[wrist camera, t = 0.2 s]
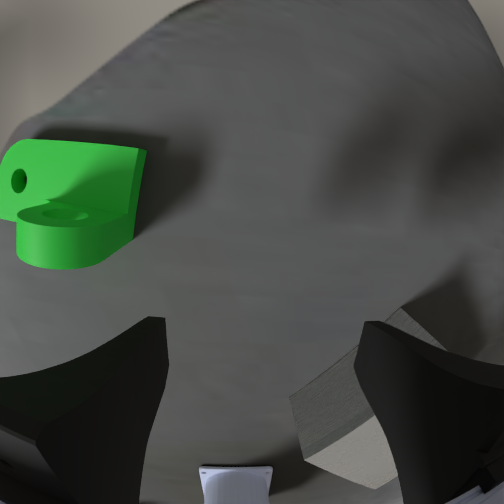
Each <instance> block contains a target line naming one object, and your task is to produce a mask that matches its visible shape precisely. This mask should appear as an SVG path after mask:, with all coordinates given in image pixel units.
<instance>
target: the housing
mask: <svg viewBox="0 0 504 504" xmlns="http://www.w3.org/2000/svg"><path fill="white" fill-rule="evenodd" d="M384 323H386V324H389V325H391V326H393V327H396V328H398V329H400V330H402V331H404V332H406V333H408V334H410V335H412V336H414V337H416V338H418V339H421V340H423V341H425V342H427V343H429V344H431V345H434V346H436V347H438V348H441V349H443V350H445V351H447V350H446V349H445V348H444V347H443V346H442V345H441V344H440V343H439V342H438V341H437V340H436V339H434V338H433V337H432V336H431V335H430V334H429V333H428V332H427V331H426V330H425V329H424V328H423V327H421V326H420V325H419V324H418V323H417V322H416V321H415V320H414V319H413V318H411V317H410V316H409V315H408V314H407V313H406V312H405V311H404V310H402V309H401V308H399V309H398V310H397V311H396V312H395V313H394V314H393V315H392V316H391V317H390V318H388V319H387V320H386V321H385V322H384ZM358 346H359V345H358ZM358 346H357V347H355V348H354V349H353V350H352V351H351V352H349V353H348V354H347V355H346V356H345V357H343V358H342V359H341V360H340V361H338V362H337V363H336V364H335V365H333V366H332V367H331V368H329V369H328V370H327V371H325V372H324V373H323V374H322V375H320V376H319V377H318V378H316V379H315V380H314V381H312V382H311V383H309V384H308V385H307V386H305V387H304V388H302V389H301V390H300V391H298V392H297V393H295V394H294V395H293V396H291V397H290V398H289V400H290V404H291V408H292V412H293V417H294V421H295V425H296V429H297V433H298V437H299V441H300V445H301V449H302V454H303V458H304V460H305V461H307V462H309V463H311V464H313V465H315V466H317V467H320V468H322V469H324V470H326V471H329V472H331V473H333V474H336V475H338V476H341V477H343V478H345V479H348V480H350V481H353V482H356V483H358V484H361V485H364V486H366V487H369V488H372V489H377V488H379V487H380V486H382V485H384V484H385V483H387V482H389V481H390V480H392V479H394V478H395V477H397V476H398V473H397V469H396V466H395V462H394V459H393V456H392V453H391V450H390V447H389V444H388V441H387V438H386V436H385V434H384V431H383V429H382V427H381V425H380V423H379V421H378V420H377V418H376V416H375V414H374V412H373V410H372V408H371V406H370V404H369V403H368V401H367V399H366V397H365V395H364V393H363V391H362V389H361V387H360V385H359V382H358V379H357V376H356V373H355V370H354V367H353V365H354V361H355V358H356V354H357V350H358Z"/></svg>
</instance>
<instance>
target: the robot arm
mask: <svg viewBox="0 0 504 504" xmlns="http://www.w3.org/2000/svg"><path fill="white" fill-rule="evenodd" d="M353 367H354V370H355V373H356V376H357V379H358V382H359V385H360V387H361V389H362V391H363V393H364V395H365V397H366V399H367V401H368V403H369V404H370V406H371V408H372V410H373V412H374V414H375V416H376V418H377V420H378V421H379V423H380V425H381V427H382V429H383V431H384V434H385V436H386V438H387V441H388V444H389V447H390V450H391V453H392V456H393V459H394V462H395V466H396V469H397V473H398V477H399V481H400V486H401V491H402V496H403V502H404V504H504V366H502V365H496V364H490V363H485V362H481V361H476V360H473V359H469V358H466V357H463V356H459V355H456V354H453V353H451V352H448V351H445V350H443V349H441V348H438V347H436V346H434V345H431V344H429V343H427V342H425V341H423V340H421V339H418V338H416V337H414V336H412V335H410V334H408V333H406V332H404V331H402V330H400V329H398V328H396V327H393V326H391V325H389V324H386V323H384V322H381V321H365V322H364V327H363V331H362V335H361V339H360V343H359V346H358V350H357V354H356V358H355V361H354V365H353ZM168 368H169V359H168V348H167V337H166V323H165V318H162V317H150V316H148V317H146V318H144V319H143V320H141V321H140V322H138V323H137V324H135V325H134V326H132V327H131V328H129V329H128V330H126V331H124V332H123V333H121V334H120V335H118V336H117V337H115V338H114V339H112V340H110V341H108V342H107V343H105V344H103V345H101V346H100V347H98V348H96V349H94V350H93V351H91V352H89V353H87V354H84V355H82V356H80V357H78V358H75V359H73V360H71V361H68V362H66V363H63V364H60V365H57V366H54V367H50V368H47V369H44V370H41V371H37V372H32V373H28V374H23V375H17V376H11V377H1V378H0V504H139V495H140V486H141V478H142V471H143V464H144V458H145V452H146V446H147V442H148V438H149V435H150V431H151V428H152V425H153V422H154V419H155V416H156V413H157V410H158V407H159V404H160V401H161V398H162V395H163V392H164V389H165V385H166V379H167V374H168ZM272 472H273V468H272V467H271V466H263V467H210V466H201V467H199V473H200V478H201V483H202V488H203V493H204V504H269V497H268V493H269V488H270V483H271V477H272Z"/></svg>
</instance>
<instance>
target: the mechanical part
mask: <svg viewBox="0 0 504 504" xmlns="http://www.w3.org/2000/svg"><path fill="white" fill-rule="evenodd" d="M146 153H147V150H143V149H139V148H132V147H124V146H115V145H106V144H96V143H85V142H72V141H58V140H38V139H24V140H21V141H19V142H17V143H15V144H14V145H13V146H12V147H11V148H10V149H9V150H8V151H7V153H6V154H5V156H4V158H3V160H2V163H1V165H0V218H1V219H5V220H10V221H14V222H17V235H16V243H17V255H18V257H19V258H20V259H21V260H23V261H24V262H26V263H28V264H31V265H33V266H37V267H42V268H48V269H77V268H84V267H89V266H92V265H95V264H98V263H100V262H102V261H103V260H105V259H106V258H108V257H109V256H110V255H112V254H113V253H114V252H116V251H117V250H119V249H120V248H122V247H123V246H124V245H126V244H127V243H129V242H130V241H132V240H133V234H134V226H135V218H136V211H137V204H138V198H139V192H140V185H141V180H142V174H143V169H144V163H145V158H146ZM26 175H27V184H26V185H25V176H26Z"/></svg>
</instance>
